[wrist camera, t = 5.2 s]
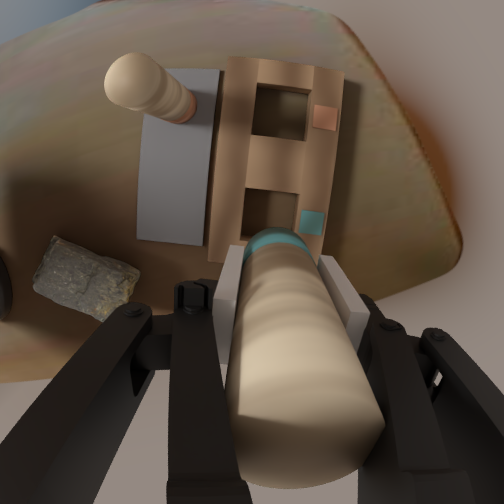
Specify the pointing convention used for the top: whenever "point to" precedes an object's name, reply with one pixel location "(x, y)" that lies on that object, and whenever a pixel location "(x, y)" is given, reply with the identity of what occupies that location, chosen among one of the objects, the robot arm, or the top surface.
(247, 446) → the peg
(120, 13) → the top surface
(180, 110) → the peg
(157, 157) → the mat
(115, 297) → the rock
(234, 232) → the socket board
